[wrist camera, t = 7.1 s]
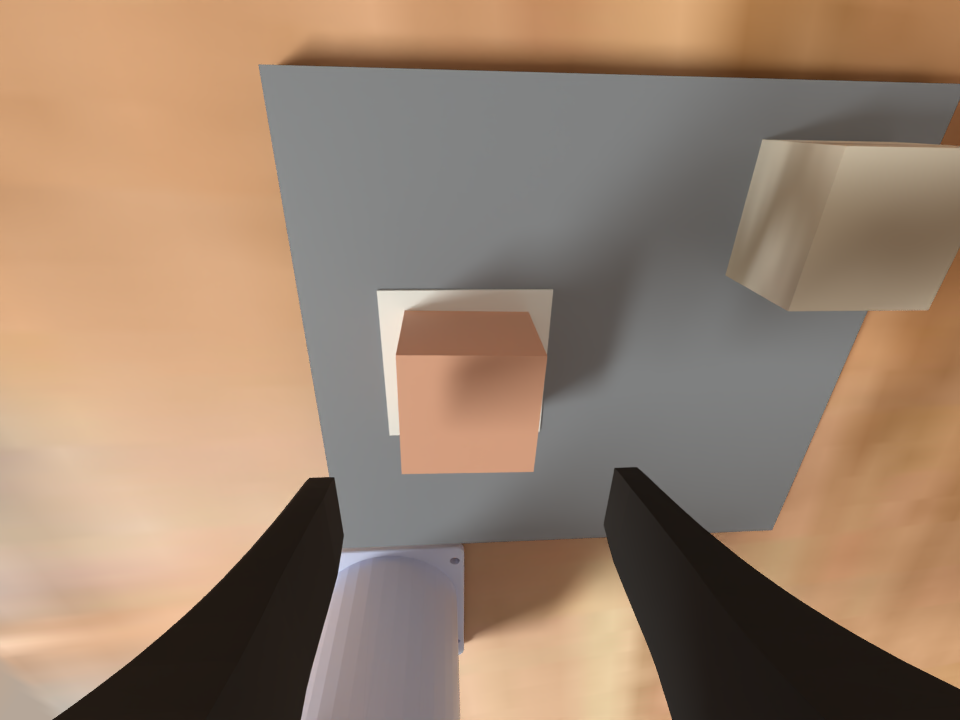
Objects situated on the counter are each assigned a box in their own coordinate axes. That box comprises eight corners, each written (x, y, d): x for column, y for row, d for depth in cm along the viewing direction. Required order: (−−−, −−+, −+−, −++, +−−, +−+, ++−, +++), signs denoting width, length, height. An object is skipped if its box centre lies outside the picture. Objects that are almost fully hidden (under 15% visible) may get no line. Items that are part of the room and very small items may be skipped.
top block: (841, 275, 18) (927, 310, 15) (725, 275, 17) (787, 311, 14) (893, 141, 16) (1008, 148, 12) (762, 139, 15) (846, 145, 12)
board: (758, 512, 25) (773, 531, 24) (346, 529, 24) (341, 550, 23) (931, 85, 16) (969, 84, 15) (272, 68, 14) (257, 64, 13)
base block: (518, 413, 20) (533, 471, 16) (408, 414, 19) (401, 474, 16) (528, 311, 17) (547, 355, 14) (404, 310, 17) (395, 355, 14)
